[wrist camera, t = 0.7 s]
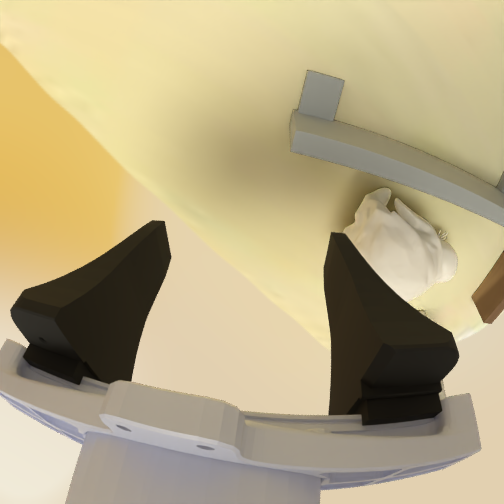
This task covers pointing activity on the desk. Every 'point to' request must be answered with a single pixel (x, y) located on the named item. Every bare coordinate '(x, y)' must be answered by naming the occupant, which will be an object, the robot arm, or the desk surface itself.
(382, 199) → the white lumpy rounded piece
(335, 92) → the screen
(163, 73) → the desk surface
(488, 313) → the stop bar
